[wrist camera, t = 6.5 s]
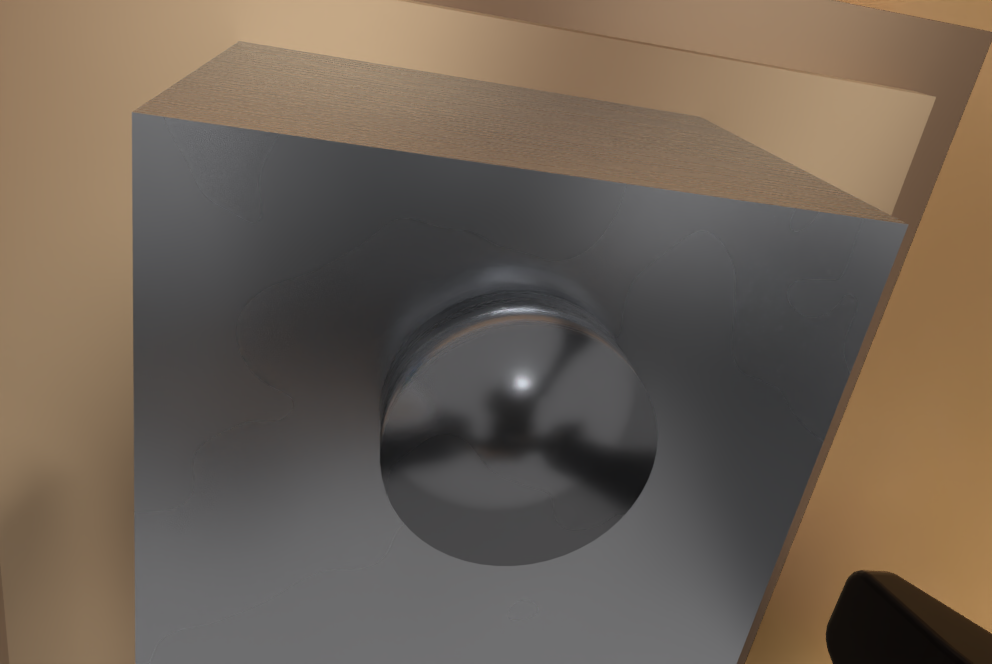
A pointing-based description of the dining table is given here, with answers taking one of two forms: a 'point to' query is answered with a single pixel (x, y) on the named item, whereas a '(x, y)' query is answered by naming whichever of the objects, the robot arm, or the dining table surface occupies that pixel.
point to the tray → (394, 42)
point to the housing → (471, 368)
